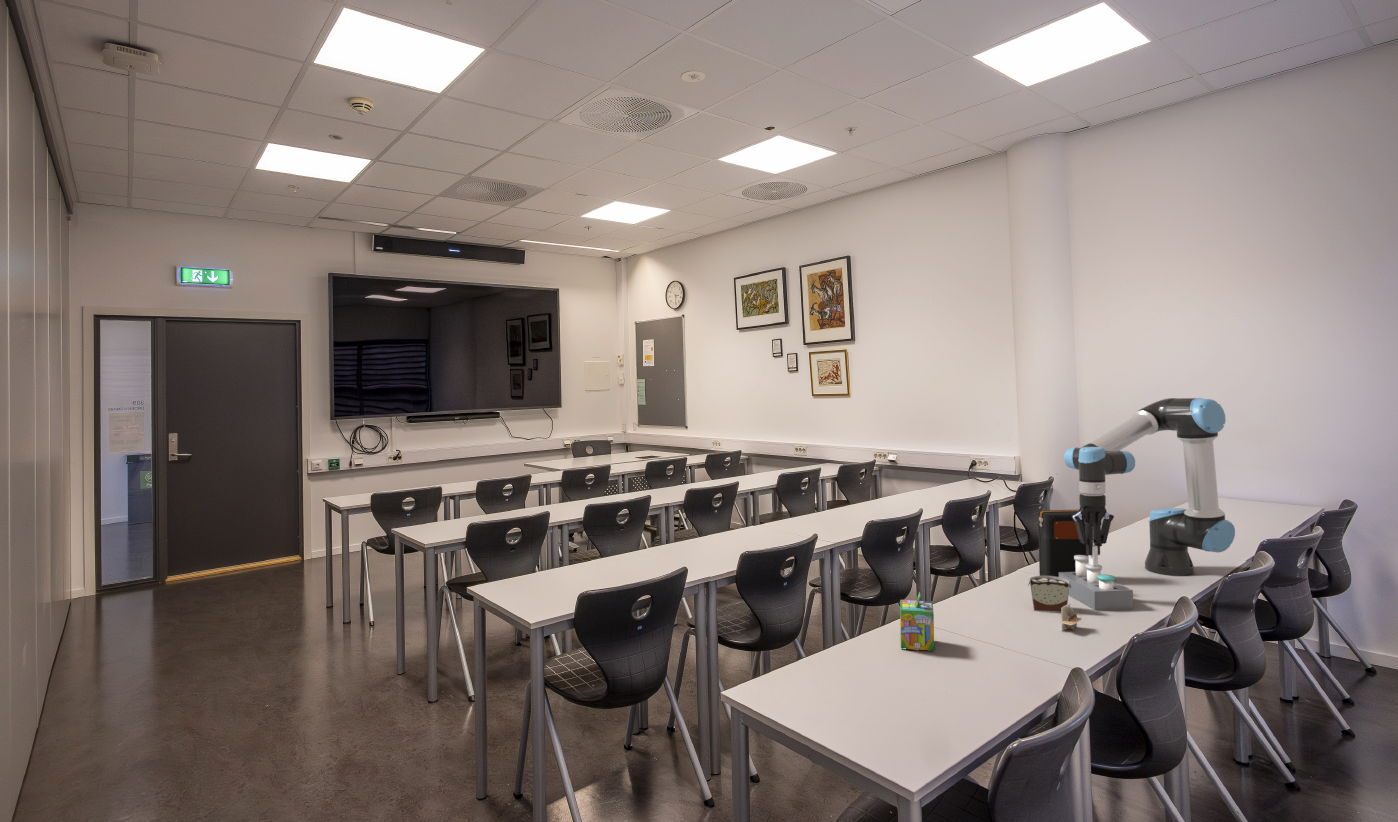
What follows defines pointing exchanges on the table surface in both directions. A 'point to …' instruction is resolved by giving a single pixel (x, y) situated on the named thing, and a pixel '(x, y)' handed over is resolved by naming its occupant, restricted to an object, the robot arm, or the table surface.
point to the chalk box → (917, 624)
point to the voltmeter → (1058, 542)
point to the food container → (1049, 593)
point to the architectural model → (1069, 617)
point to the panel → (1098, 593)
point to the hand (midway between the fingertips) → (1093, 564)
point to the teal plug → (1106, 581)
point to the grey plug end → (1081, 565)
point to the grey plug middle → (1093, 573)
